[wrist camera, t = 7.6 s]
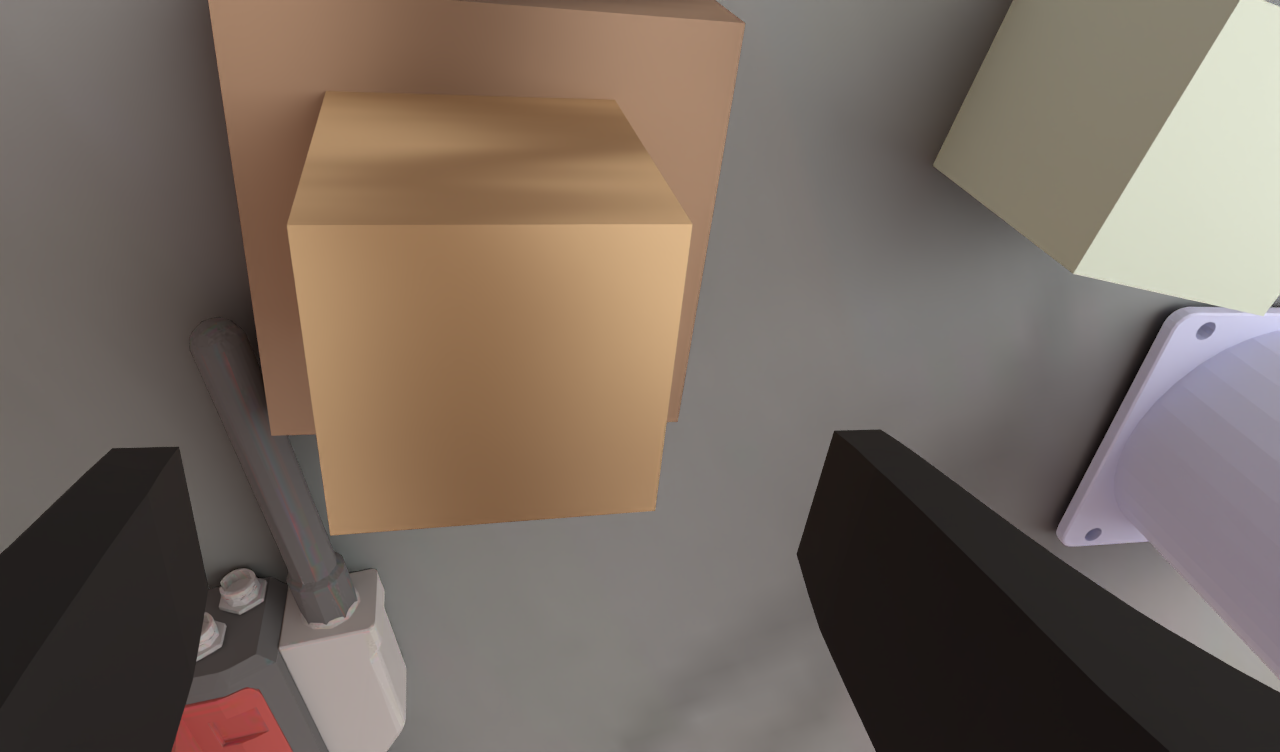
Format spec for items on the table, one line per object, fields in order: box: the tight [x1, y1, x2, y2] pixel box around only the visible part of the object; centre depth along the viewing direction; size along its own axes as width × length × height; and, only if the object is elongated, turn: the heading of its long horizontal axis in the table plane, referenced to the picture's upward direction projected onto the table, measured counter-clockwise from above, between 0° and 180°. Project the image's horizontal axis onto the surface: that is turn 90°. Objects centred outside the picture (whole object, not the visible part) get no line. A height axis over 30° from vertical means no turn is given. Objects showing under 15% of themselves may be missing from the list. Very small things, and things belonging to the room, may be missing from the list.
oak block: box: [287, 91, 693, 536], centre depth 13 cm, size 4×4×5 cm
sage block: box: [933, 0, 1280, 316], centre depth 16 cm, size 4×4×5 cm
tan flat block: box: [208, 0, 745, 436], centre depth 16 cm, size 8×8×2 cm
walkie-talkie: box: [171, 317, 406, 752], centre depth 21 cm, size 9×4×20 cm
